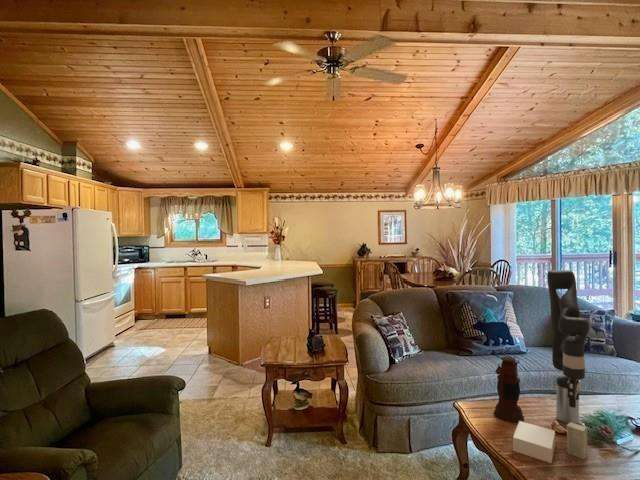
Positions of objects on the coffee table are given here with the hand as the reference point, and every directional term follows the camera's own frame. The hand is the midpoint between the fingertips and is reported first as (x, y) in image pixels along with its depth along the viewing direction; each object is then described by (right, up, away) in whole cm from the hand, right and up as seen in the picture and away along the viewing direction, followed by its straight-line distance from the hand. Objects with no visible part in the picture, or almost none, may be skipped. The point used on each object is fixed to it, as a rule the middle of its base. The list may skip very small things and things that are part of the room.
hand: (574, 403), depth 150 cm
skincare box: (+2, -22, +1) cm, 23 cm away
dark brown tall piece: (-10, -22, +32) cm, 40 cm away
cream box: (-13, -22, +6) cm, 27 cm away
